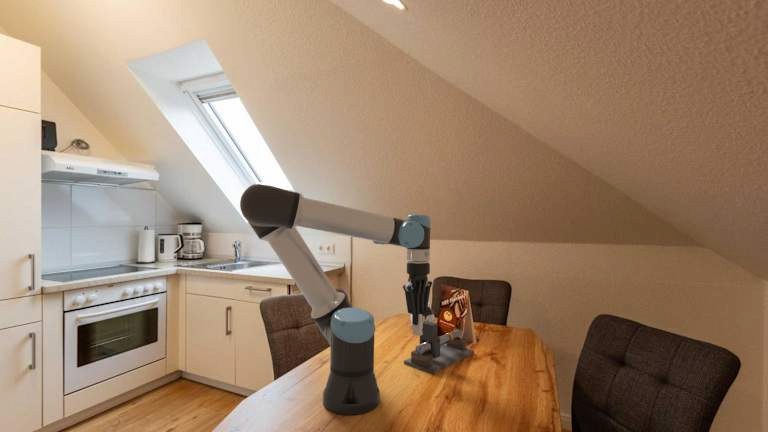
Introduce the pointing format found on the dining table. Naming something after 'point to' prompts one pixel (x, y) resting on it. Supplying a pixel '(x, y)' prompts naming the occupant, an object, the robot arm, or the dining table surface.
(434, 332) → the dark grey tall block
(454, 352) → the pipe rig
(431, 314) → the spread jar
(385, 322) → the dining table surface
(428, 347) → the pipe
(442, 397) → the dining table surface
